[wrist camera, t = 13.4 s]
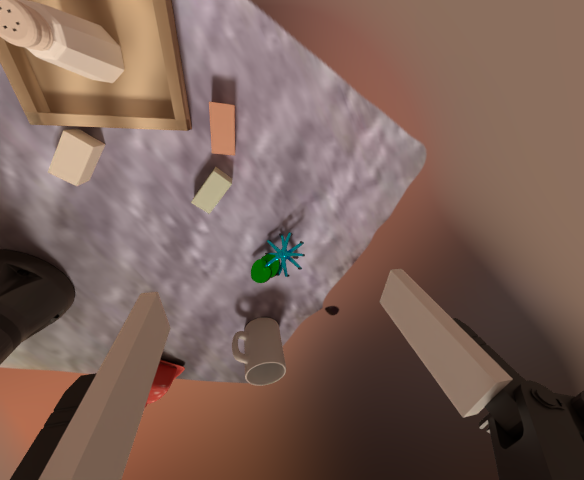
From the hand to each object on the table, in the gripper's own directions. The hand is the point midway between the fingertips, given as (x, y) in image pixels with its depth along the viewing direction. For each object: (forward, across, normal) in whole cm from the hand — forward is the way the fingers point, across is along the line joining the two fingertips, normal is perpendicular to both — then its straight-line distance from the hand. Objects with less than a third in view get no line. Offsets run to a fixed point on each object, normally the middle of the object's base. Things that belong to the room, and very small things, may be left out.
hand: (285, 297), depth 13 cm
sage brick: (+27, -7, -2) cm, 28 cm away
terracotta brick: (+27, -4, +7) cm, 28 cm away
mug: (+27, -2, -36) cm, 45 cm away
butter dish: (+27, -27, -47) cm, 60 cm away
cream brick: (+27, -23, +3) cm, 36 cm away
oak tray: (+27, -17, +14) cm, 35 cm away
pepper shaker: (+26, -17, +14) cm, 34 cm away
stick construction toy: (+28, +2, -13) cm, 31 cm away
